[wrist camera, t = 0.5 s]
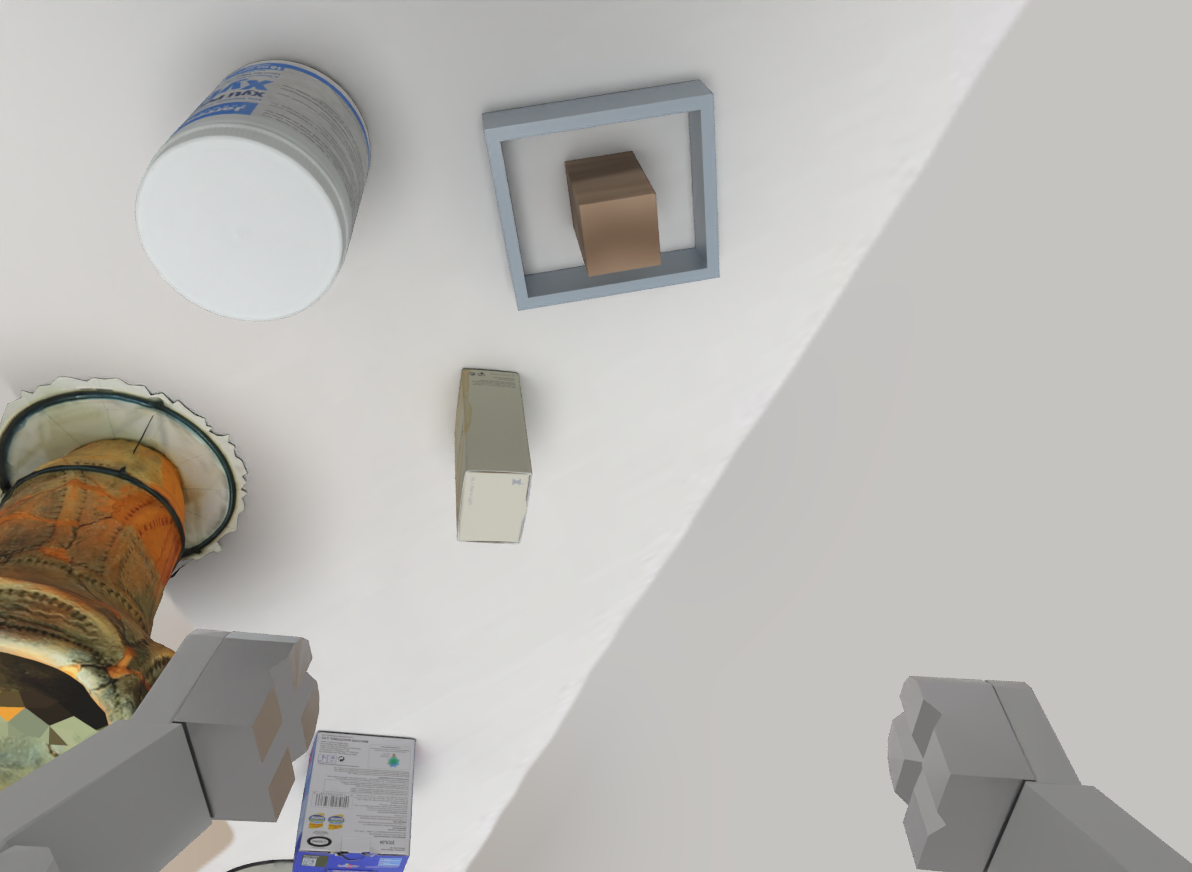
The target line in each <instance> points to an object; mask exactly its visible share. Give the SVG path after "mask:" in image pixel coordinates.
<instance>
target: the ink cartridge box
mask: <svg viewBox="0 0 1192 872" xmlns="http://www.w3.org/2000/svg"><path fill="white" fill-rule="evenodd" d="M415 742H416V741H415V740H414V739H402V738H388V737H375V736H363V735H351V734H338V733H326V732H318V733H317V736H316V739H315V742H314V746H313V749H312V752H311V755H310V759H309V766H308V771H307V777H306V782H305V788H304V793H303V800H302V806H301V812H300V818H299V824H298V831H297V838H296V846H295V853H294V861H293V869H292V872H403V870H404V868H405V865H406V863H407V860H408V858H409V855H410V839H411V816H412V796H413V775H414V755H415Z"/></svg>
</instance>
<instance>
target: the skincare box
mask: <svg viewBox="0 0 1192 872" xmlns="http://www.w3.org/2000/svg"><path fill="white" fill-rule="evenodd" d="M531 479H532V468H531V460H530V454H529V446H528V439H527V431H526V425H525V417H524V410H523V402H522V395H521V388H520V381H519V375H518V374H517V373H510V372H500V371H487V370H472V369H463V370H462V373H461V381H460V388H459V396H458V404H457V414H456V424H455V480H456V515H457V540H458V541H460V542H478V543H498V544H519V543H520V542H521V538H522V533H523V528H524V523H525V518H526V513H527V507H528V500H529V494H530V487H531Z"/></svg>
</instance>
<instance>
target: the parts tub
mask: <svg viewBox="0 0 1192 872" xmlns="http://www.w3.org/2000/svg"><path fill="white" fill-rule="evenodd" d="M683 112H689V130H690V150H691V170H692V190H693V210H694V230H695V248H689V249H683V250H677V251H671V252H665V253H660V257H661V265H656V266H650V267H644V268H638V269H632V270H626V271H620V272H614V273H608V274H602V275H596V276H590V277H588V273H587V270H586V267H585V266H580V267H574V268H568V269H562V270H556V271H550V272H544V273H538V274H532V275H526V276H525V275H524V269H523V264H522V258H521V253H520V247H519V242H518V236H517V230H516V225H515V219H514V214H513V208H512V203H511V197H510V191H509V186H508V180H507V175H506V169H505V164H504V158H503V152H502V147H501V141H506V140H513V139H519V138H525V137H532V136H538V135H544V134H550V133H557V132H563V131H569V130H576V129H582V128H588V127H595V126H601V125H607V124H614V123H620V122H626V121H633V120H639V119H645V118H652V117H658V116H664V115H670V114H677V113H683ZM482 116H483V127H484V133H485V139H486V144H487V149H488V155H489V160H490V165H491V170H492V176H493V181H494V186H495V192H496V197H497V202H498V207H499V213H500V218H501V223H502V229H503V234H504V239H505V244H506V250H507V255H508V260H509V265H510V271H511V276H512V281H513V287H514V292H515V297H516V302H517V308H518V311H520V310H526V309H532V308H538V307H544V306H550V305H556V304H562V303H568V302H574V301H580V300H586V299H592V298H598V297H604V296H610V295H616V294H622V293H628V292H634V291H640V290H646V289H652V288H658V287H664V286H670V285H676V284H682V283H688V282H694V281H700V280H706V279H712V278H718V277H720V273H719V243H718V213H717V183H716V153H715V123H714V94H713V93H712V92H711V91H710V90H709V89H708V88H707V87H706V86H705V85H704V84H703V83H702V82H701V81H700V80H695V81H689V82H682V83H676V84H669V85H663V86H657V87H650V88H644V89H638V90H631V91H625V92H618V93H612V94H606V95H599V96H593V97H587V98H580V99H574V100H567V101H561V102H555V103H548V104H542V105H536V106H529V107H523V108H516V109H510V110H504V111H497V112H491V113H485V114H482Z"/></svg>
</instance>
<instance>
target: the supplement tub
mask: <svg viewBox="0 0 1192 872" xmlns="http://www.w3.org/2000/svg"><path fill="white" fill-rule="evenodd" d="M369 164H370V141H369V136H368V131H367V128H366V125H365V122H364V120H363V118H362V116H361V114H360V112H359V110H358V108H357V107H356V105H355V104H354V102H353V101H352V99H351V98H350V97H349V96H348V94H347V93H346V92H345V91H344V90H343V89H342V88H341V87H340V86H339V85H338V84H336V83H335V82H334V81H333V80H331V79H330V78H328V77H327V76H326V75H324V74H322V73H320V72H319V71H317V70H315V69H312V68H310V67H308V66H305V65H302V64H299V63H295V62H290V61H284V60H266V61H259V62H255V63H251V64H248V65H246V66H244V67H241V68H239V69H238V70H236V71H234V72H233V73H231V74H230V75H228V76H227V77H226V78H225V79H224V80H223V81H222V82H221V83H220V84H219V85H218V86H217V87H216V88H215V90H214V91H213V92H212V93H211V94H210V95H209V96H208V97H207V98H206V99H205V100H204V102H203V103H202V104H201V105H200V106H199V107H198V108H197V109H196V110H195V111H194V112H193V114H192V115H191V116H190V117H189V118H188V119H187V120H186V121H185V122H184V123H183V124H182V125H181V126H180V128H179V129H178V130H177V131H176V132H175V133H174V134H173V135H172V136H171V137H170V138H169V139H168V141H167V142H166V143H165V144H164V145H163V146H162V147H161V149H160V150H159V151H158V152H157V154H156V155H155V156H154V158H153V159H152V161H151V163H150V164H149V166H148V168H147V170H146V173H145V175H144V177H143V179H142V181H141V183H140V186H139V189H138V192H137V196H136V203H135V220H136V227H137V232H138V236H139V239H140V242H141V244H142V247H143V249H144V251H145V253H146V255H147V257H148V259H149V260H150V262H151V264H152V265H153V267H154V268H155V269H156V271H157V272H158V273H159V274H160V276H161V277H162V278H163V279H164V280H165V281H166V282H167V283H168V284H169V285H170V286H171V287H172V288H173V289H174V290H175V291H177V292H178V293H179V294H180V295H182V296H183V297H185V298H186V299H187V300H189V301H191V302H192V303H194V304H196V305H197V306H199V307H201V308H203V309H205V310H207V311H210V312H212V313H215V314H217V315H221V316H224V317H228V318H232V319H237V320H244V321H270V320H277V319H281V318H285V317H289V316H292V315H294V314H297V313H299V312H301V311H303V310H305V309H306V308H308V307H309V306H311V305H312V304H314V303H315V302H316V301H317V300H319V299H320V298H321V297H322V296H323V295H324V293H325V292H326V291H327V290H328V288H329V287H330V286H331V284H332V283H333V281H334V279H335V277H336V276H337V274H338V272H339V270H340V269H341V266H342V264H343V262H344V259H345V256H346V253H347V250H348V246H349V243H350V239H351V235H352V231H353V227H354V224H355V220H356V216H357V212H358V208H359V205H360V201H361V197H362V194H363V190H364V186H365V182H366V179H367V175H368V170H369Z"/></svg>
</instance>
